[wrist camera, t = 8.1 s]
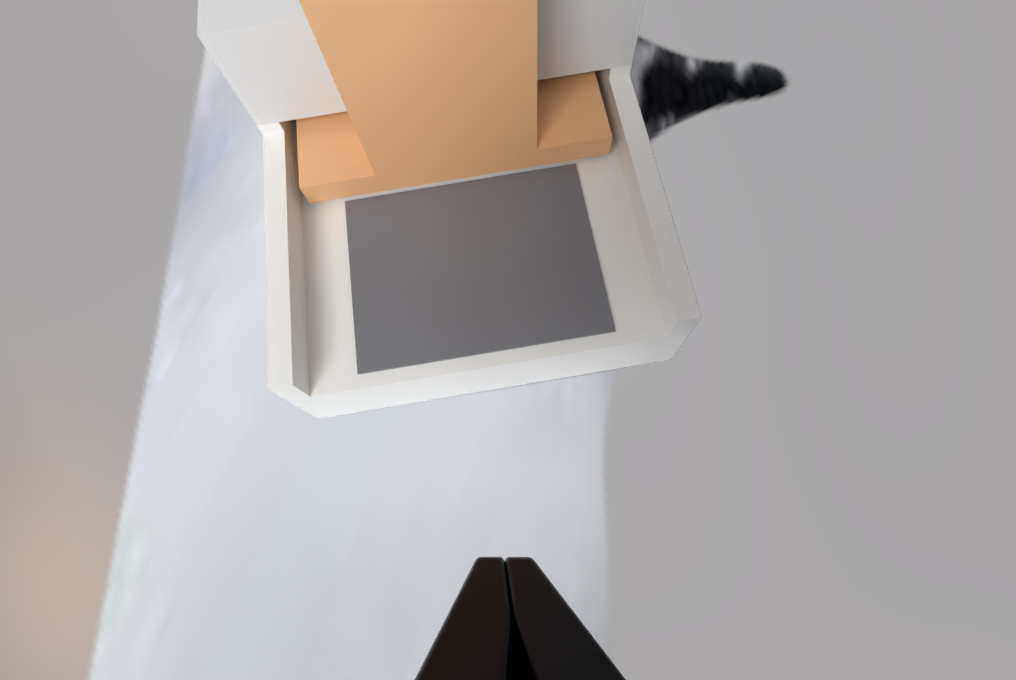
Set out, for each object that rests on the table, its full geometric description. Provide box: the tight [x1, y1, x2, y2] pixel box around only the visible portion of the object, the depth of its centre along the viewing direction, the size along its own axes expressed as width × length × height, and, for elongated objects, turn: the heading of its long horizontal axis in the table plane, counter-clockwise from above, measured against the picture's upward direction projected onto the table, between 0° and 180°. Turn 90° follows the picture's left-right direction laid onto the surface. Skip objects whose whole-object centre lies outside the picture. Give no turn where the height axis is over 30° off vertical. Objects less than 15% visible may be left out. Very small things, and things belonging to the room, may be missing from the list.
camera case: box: [197, 0, 702, 419], centre depth 22 cm, size 22×14×9 cm, turn 9°
